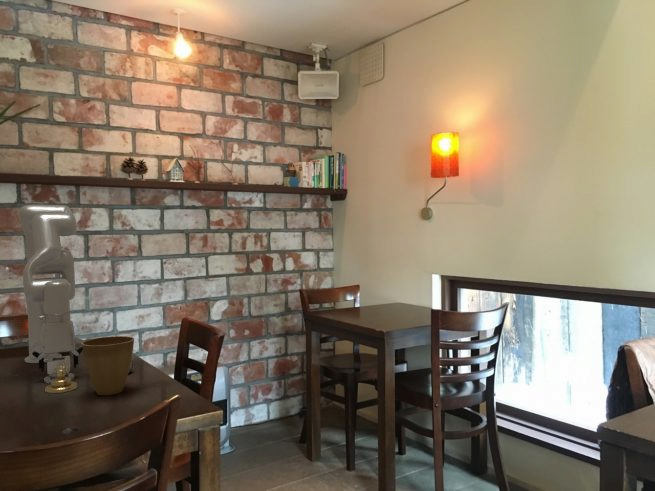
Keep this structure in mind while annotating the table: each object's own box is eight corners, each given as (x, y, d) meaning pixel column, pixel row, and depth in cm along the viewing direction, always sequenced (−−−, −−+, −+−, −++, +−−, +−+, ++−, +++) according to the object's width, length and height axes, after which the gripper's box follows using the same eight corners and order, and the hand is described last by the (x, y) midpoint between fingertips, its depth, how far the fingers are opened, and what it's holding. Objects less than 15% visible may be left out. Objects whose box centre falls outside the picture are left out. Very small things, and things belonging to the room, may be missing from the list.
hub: (56, 384, 171) (55, 365, 171) (82, 384, 170) (82, 365, 170) (38, 393, 162) (38, 373, 162) (66, 393, 161) (66, 373, 161)
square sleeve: (48, 369, 178) (48, 357, 178) (70, 367, 181) (69, 355, 181) (47, 374, 172) (47, 362, 172) (69, 371, 175) (69, 359, 175)
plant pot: (145, 388, 165) (144, 338, 165) (104, 402, 152) (102, 347, 152) (114, 382, 173) (113, 333, 172) (72, 394, 160) (71, 342, 160)
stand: (54, 375, 182) (54, 357, 182) (79, 375, 181) (79, 358, 181) (38, 383, 173) (37, 364, 173) (64, 383, 172) (63, 364, 172)
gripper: (26, 322, 169) (28, 374, 170) (86, 317, 176) (87, 368, 177) (29, 318, 176) (30, 369, 177) (86, 314, 183) (87, 363, 184)
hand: (59, 368), depth 177 cm, fingers open, 9 cm apart
